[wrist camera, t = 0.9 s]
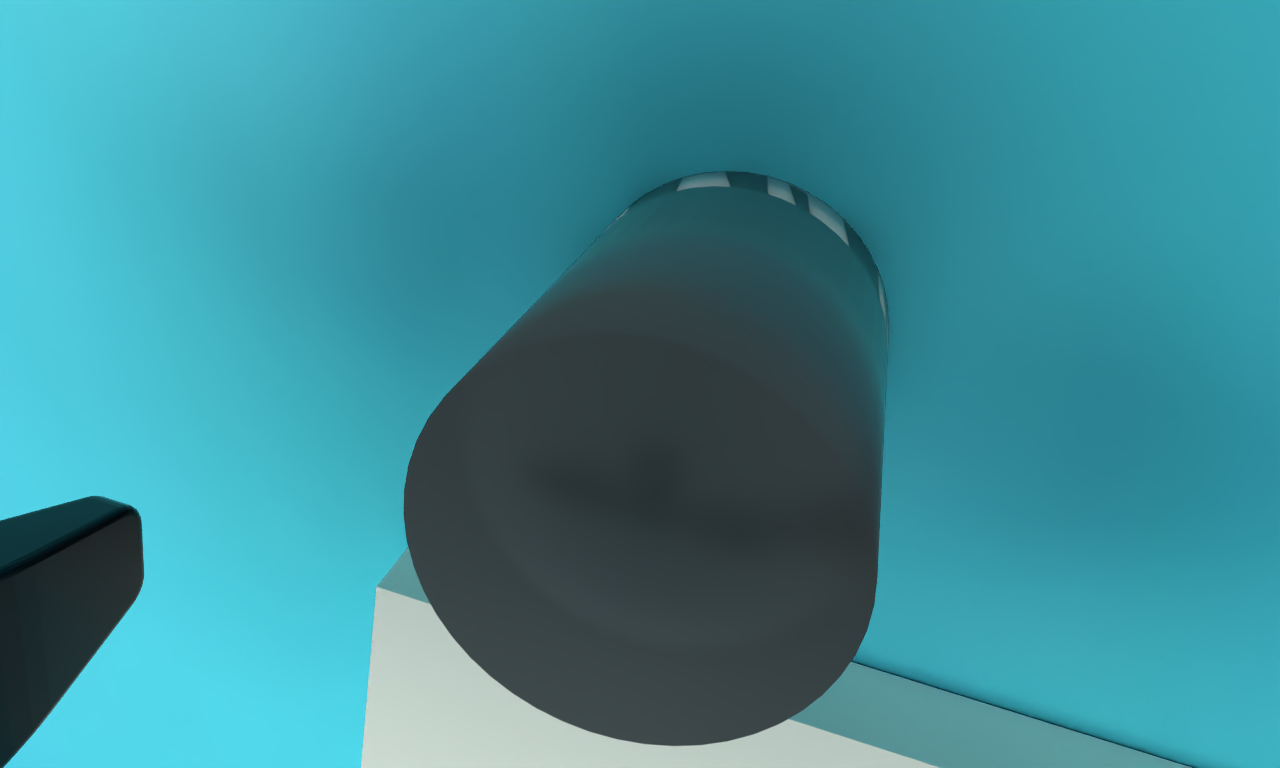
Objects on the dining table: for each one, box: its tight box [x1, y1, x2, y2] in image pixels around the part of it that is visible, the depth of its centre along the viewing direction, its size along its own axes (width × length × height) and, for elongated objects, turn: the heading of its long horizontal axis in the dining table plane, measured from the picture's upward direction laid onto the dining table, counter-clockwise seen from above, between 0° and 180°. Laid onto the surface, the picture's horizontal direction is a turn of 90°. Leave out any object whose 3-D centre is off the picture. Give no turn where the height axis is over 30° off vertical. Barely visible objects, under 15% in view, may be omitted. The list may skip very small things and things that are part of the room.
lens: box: [404, 171, 889, 746], centre depth 14 cm, size 5×5×7 cm
